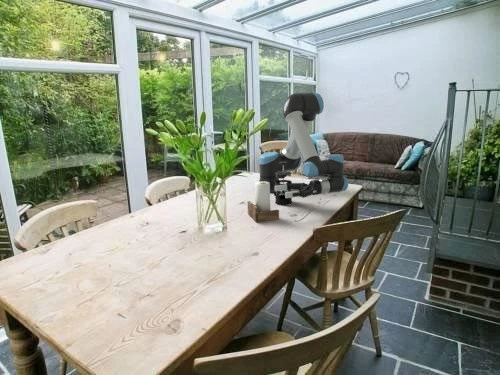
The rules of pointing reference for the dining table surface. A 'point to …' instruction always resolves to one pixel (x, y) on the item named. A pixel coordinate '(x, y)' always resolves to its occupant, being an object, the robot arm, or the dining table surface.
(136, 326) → the dining table surface
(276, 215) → the holder
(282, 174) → the french press
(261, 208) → the roll
